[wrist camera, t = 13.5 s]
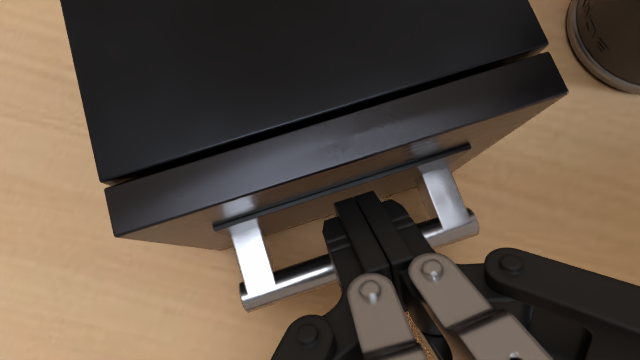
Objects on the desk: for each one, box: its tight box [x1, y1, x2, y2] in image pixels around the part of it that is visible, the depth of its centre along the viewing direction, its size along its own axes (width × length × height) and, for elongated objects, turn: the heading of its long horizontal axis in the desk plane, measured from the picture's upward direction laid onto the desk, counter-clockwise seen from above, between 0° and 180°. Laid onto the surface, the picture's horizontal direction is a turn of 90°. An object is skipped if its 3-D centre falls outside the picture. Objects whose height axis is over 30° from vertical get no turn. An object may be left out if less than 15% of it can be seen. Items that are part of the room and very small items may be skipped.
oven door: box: [104, 52, 569, 313], centre depth 18 cm, size 5×15×13 cm, turn 108°
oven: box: [60, 0, 549, 186], centre depth 20 cm, size 18×15×13 cm
